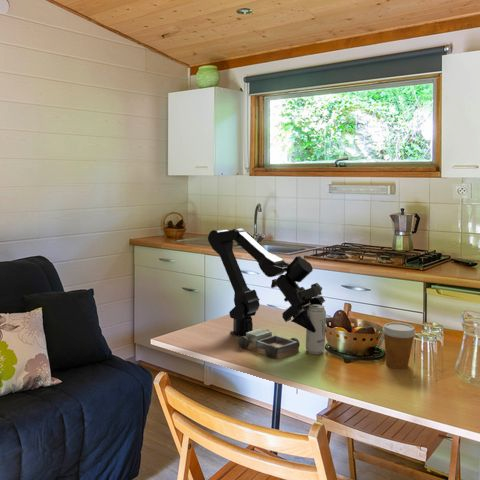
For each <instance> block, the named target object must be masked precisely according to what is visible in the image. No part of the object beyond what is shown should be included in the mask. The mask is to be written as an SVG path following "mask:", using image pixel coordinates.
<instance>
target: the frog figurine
mask: <svg viewBox="0 0 480 480" xmlns="http://www.w3.org/2000/svg"><path fill="white" fill-rule="evenodd" d="M384 341H385V340H384V332H383V333H382V336H381V338H380V340H379V343H378V345H377V348H376V349H378V348H380V347H381V346H382V344H383V342H384Z"/></svg>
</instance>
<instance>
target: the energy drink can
mask: <svg viewBox="0 0 480 480" xmlns="http://www.w3.org/2000/svg"><path fill="white" fill-rule="evenodd" d="M307 316H308V318H309V319H310V321H311V323H312V324H313V326H314V328H315V330H316V332H314V333H313V332H311V331H309V330H308V329H306V328H305V334H306V335H305V350H306V351H307V353H308V354H309V355H310V354H311V355H321V354H323V352H324V351H325V348H326V347H325V346H326V344H325V343H326V327H327V326H326V325H327V323H326V321H327V311H326V309H325V306H324V305H323V304H322V305H316V304H314V305H309V308H308V310H307ZM325 326H326V327H325Z"/></svg>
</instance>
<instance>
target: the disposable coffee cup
mask: <svg viewBox="0 0 480 480" xmlns="http://www.w3.org/2000/svg"><path fill="white" fill-rule="evenodd" d="M382 329H383V332H384V340H383V341H384V351H385V364H386V366H387V367H390V368H392V369H397V370H398V369H399V370H400V369H401V370H402V369H407V368H408V367H409V363H410V356H411V351H412V347H413V346H412V345H413V341H414V338H415V335H416V333H417V332H416V331H415V327H414V326H413V325H411V324H408V323H403V322H388V323H385V324H384V326H383V328H382Z"/></svg>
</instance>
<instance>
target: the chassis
mask: <svg viewBox="0 0 480 480" xmlns="http://www.w3.org/2000/svg"><path fill="white" fill-rule="evenodd" d="M237 344H238V346H239V347H240V348H241V349H247V350H250V351H253V352H257V353H260V354H262V355H264V356H265V355H266V357H268V358H270V359H272V358H273V359H277V360H280V359H283V358H285V357H288V356H291V355H294V354H296V353H299V352H300V346H301V345H300V340H299V339H298V338H296V337H292V338H287V337H283V336H280V335H276V334H274V335H273V333H272V331H271V330H270V329H263V328H257V329H253V331H250V332H246V336H242V337H240V336H239V338H238V342H237Z"/></svg>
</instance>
